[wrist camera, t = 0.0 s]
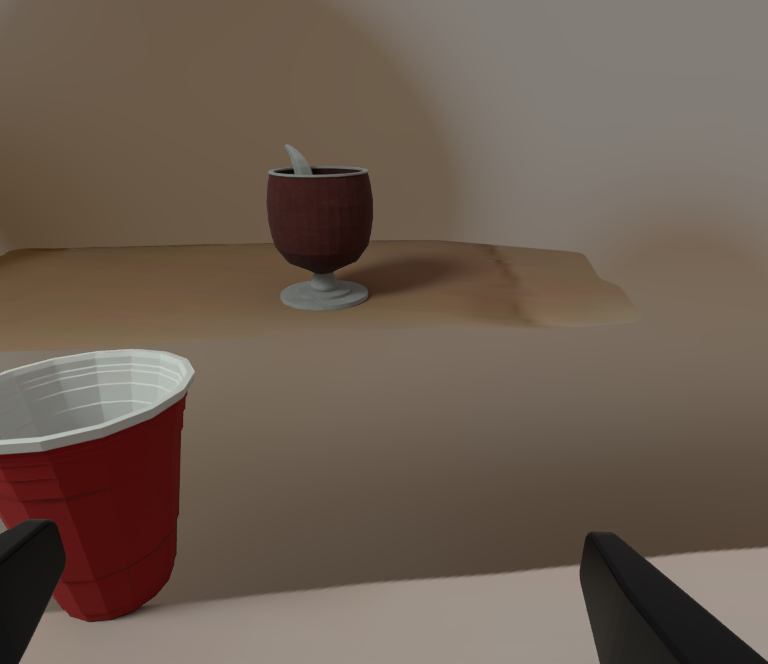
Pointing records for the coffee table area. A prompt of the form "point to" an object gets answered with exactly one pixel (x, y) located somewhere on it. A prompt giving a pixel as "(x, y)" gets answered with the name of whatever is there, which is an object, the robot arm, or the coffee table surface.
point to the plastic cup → (98, 469)
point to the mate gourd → (320, 228)
